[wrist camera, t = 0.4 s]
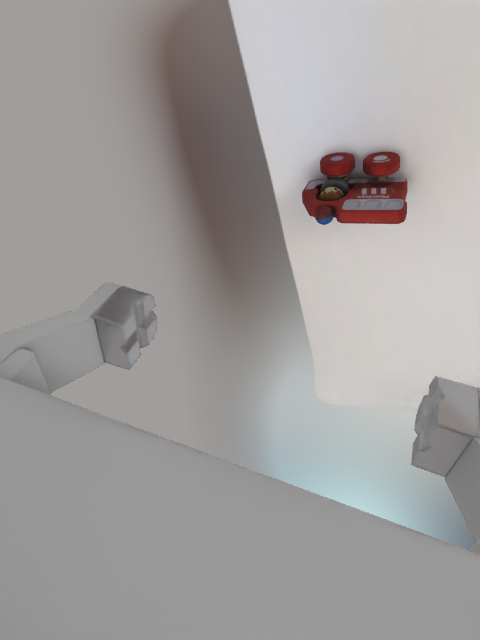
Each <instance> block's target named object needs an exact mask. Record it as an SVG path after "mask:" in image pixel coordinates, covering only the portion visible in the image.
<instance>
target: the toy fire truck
mask: <svg viewBox="0 0 480 640" xmlns="http://www.w3.org/2000/svg"><path fill="white" fill-rule="evenodd" d="M354 168H355V159H354V156H353V155H351V154H348V153H334V154H330V155H327V156H325V157H323V158H322V159H321V161H320V170H321V173H322V174H324V175H327V178H328V180H312V181H310V182H308V184H307V185H306V187H305V189H304V190H303V192H302V201H303V204H304V206H305V208H306V210H307V212H308V213H309V215H310V216H313V217H315V218H316V220H317V222H318V223H320V224H322V225H325V224H328V223H330V222H331V221H332V219H333V217H335V218H337V221H338V222H340V223H370V224H373V223H374V224H377V223H378V224H399V223H402V222H404V221H405V219H406V214H407V203H406V201H405V199H406V194H407V180H406V179H405V178H389V177H385V176H387V175H391V174H393V173H395V172H396V171H398V170H399V168H400V157H399V155H398V154H396V153H392V152H380V153H374V154H371V155H369V156H367V157H366V158H365V159H364V160H363V172H364V173H365V174H366V175H369V176H375V177H376V178H366V179H348V173H350V172H352V171H353V170H354Z"/></svg>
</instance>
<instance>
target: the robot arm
mask: <svg viewBox="0 0 480 640" xmlns="http://www.w3.org/2000/svg"><path fill="white" fill-rule="evenodd" d="M155 306H156V305H155V299H154V296H152V295H150V294H147V293H144V292H140V291H138V290H135V289H131V288H128V287H125V286H120V285H118V284H114V283H111V282H107V283H104V284H103V285H102V286H101V287H100V288H99V289H98V290H97V291H96V292H95V293H94V294H93V295H92V296H91V297H90V298H89V299H88V300H87V301H86V302H84V303H83V304H82V305H81V306H80V307H79V308H78V309H77V310H76V311H75V312H72V311H69V312H66V313H63V314H60V315H57V316H54V317H51V318H48V319H45V320H42V321H39V322H36V323H33V324H30V325H27V326H24V327H21V328H19V329H15V330H13V331H10V332H6V333H3V334H1V335H0V640H480V388H475V387H473V386H469V385H465V384H462V383H458V382H455V381H451V380H447V379H444V378H440V377H437V376H435V378H434V379H433V380H432V382H431V384H430V386H429V395H426V396H424V397H423V399H422V401H421V403H420V406H419V409H418V412H417V415H416V421H415V429H414V430H415V431H416V433H417V435H418V436H417V437H416V439H415V441H414V443H413V451H412V463H411V464H412V465H413V466H416V467H418V468H421V469H424V470H427V471H429V472H432V473H435V474H438V475H440V476H443V477H445V481H446V482H447V485H448V487H449V489H450V491H451V493H452V495H453V497H454V499H455V501H456V503H457V505H458V507H459V509H460V511H461V513H462V515H463V517H464V519H465V521H466V523H467V525H468V528H469V530H470V532H471V533H472V536H473V538H474V540H475V542H476V543H475V544H474V545H473V546H472V547H471V548H470V549H468V550H466V549H464V548H461V547H458V546H456V545H453V544H450V543H448V542H445V541H442V540H440V539H437V538H434V537H432V536H429V535H426V534H423V533H420V532H418V531H415V530H413V529H410V528H407V527H404V526H402V525H399V524H396V523H394V522H391V521H388V520H386V519H383V518H380V517H378V516H375V515H372V514H369V513H367V512H364V511H361V510H359V509H356V508H353V507H350V506H348V505H345V504H342V503H340V502H337V501H334V500H332V499H329V498H326V497H323V496H320V495H318V494H315V493H313V492H310V491H307V490H304V489H302V488H299V487H296V486H293V485H291V484H288V483H285V482H283V481H280V480H277V479H275V478H272V477H269V476H266V475H264V474H261V473H258V472H256V471H253V470H250V469H247V468H245V467H242V466H239V465H237V464H234V463H231V462H229V461H226V460H223V459H221V458H218V457H215V456H212V455H210V454H207V453H204V452H202V451H199V450H196V449H194V448H191V447H188V446H186V445H183V444H180V443H177V442H175V441H172V440H169V439H166V438H164V437H161V436H159V435H156V434H153V433H150V432H148V431H145V430H143V429H140V428H137V427H134V426H132V425H129V424H126V423H123V422H121V421H118V420H115V419H113V418H110V417H107V416H105V415H102V414H99V413H97V412H94V411H91V410H88V409H86V408H83V407H80V406H77V405H75V404H72V403H70V402H67V401H64V400H61V399H59V398H56V397H53V396H52V395H51V393H52V392H53V391H55V390H57V389H59V388H61V387H63V386H65V385H66V384H68V383H70V382H72V381H74V380H76V379H78V378H79V377H81V376H83V375H85V374H87V373H89V372H90V371H92V370H94V369H96V368H98V367H100V366H102V365H103V364H104V362H105V363H108V364H112V365H115V366H118V367H121V368H125V369H128V370H130V368H131V367H132V366H133V365H134V363H135V362H136V361H137V359H138V358H139V357H140V355H141V352H140V348H143V347H145V346H147V345H149V344H150V342H151V340H152V339H153V338H154V335H155V332H156V330H157V316H156V315H155V314H154V312H153V311H152V309H153V308H154V307H155Z"/></svg>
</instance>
